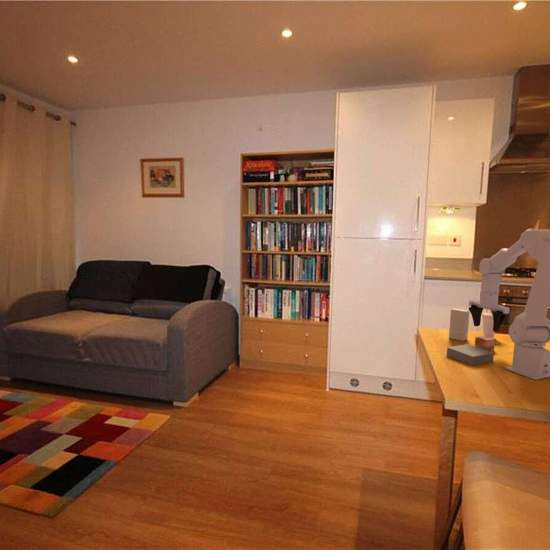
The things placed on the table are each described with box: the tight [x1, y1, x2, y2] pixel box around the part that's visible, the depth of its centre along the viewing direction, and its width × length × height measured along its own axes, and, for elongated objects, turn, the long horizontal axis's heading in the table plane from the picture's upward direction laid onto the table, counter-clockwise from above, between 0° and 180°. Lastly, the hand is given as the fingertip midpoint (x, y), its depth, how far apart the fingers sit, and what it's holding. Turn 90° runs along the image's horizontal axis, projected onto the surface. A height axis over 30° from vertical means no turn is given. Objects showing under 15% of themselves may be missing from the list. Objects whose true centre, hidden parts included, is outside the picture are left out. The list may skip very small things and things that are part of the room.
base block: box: [446, 343, 495, 366], centre depth 126 cm, size 10×10×3 cm
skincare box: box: [448, 307, 470, 342], centre depth 149 cm, size 6×4×12 cm
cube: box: [474, 335, 496, 352], centre depth 136 cm, size 4×4×4 cm
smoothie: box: [481, 310, 496, 339], centre depth 151 cm, size 6×6×14 cm
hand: (486, 328), depth 136 cm, fingers open, 7 cm apart
